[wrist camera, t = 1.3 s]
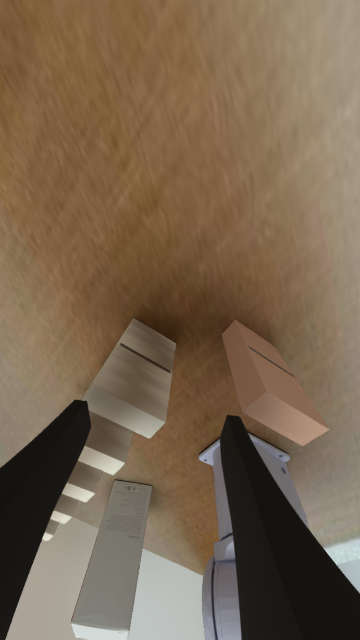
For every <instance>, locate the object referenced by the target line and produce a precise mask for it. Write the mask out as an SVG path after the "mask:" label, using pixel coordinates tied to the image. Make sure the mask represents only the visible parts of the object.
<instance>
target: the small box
mask: <svg viewBox="0 0 360 640" xmlns="http://www.w3.org/2000/svg"><path fill="white" fill-rule="evenodd" d="M151 492H152V486H149V485H143V484H137V483H131V482H124V481H116V480H115V481H114V482H113V486H112V489H111V492H110V495H109V499H108V502H107V505H106V509H105V512H104V516H103V519H102V522H101V525H100V529H99V532H98V535H97V539H96V542H95V545H94V548H93V551H92V555H91V558H90V561H89V564H88V568H87V571H86V574H85V578H84V581H83V584H82V587H81V591H80V594H79V597H78V601H77V604H76V607H75V610H74V613H73V616H72V619H71V625H72V628H73V631H74V634H75V637H76V638H82V639H89V640H127V639H128V636H129V630H130V624H131V618H132V612H133V605H134V599H135V592H136V587H137V580H138V574H139V568H140V561H141V555H142V548H143V542H144V536H145V529H146V523H147V517H148V511H149V505H150V498H151Z"/></svg>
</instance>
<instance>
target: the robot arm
mask: <svg viewBox="0 0 360 640" xmlns="http://www.w3.org/2000/svg"><path fill="white" fill-rule="evenodd" d="M91 427H92V426H91V420H90V415H89V409H88V403H87V401H83V400H74V401H73V402H72V403H71V404H70V405H69V406H68V407H67V408H66V409H65V410H64V411H63V412H62V413H61V414H60V415H59V416H58V417H57V418H56V419H55V420H54V421H53V422H51V423H50V424H49V425H48V426H47V427H46V428H45V429H44V430H43V431H42V432H41V433H40V434H39V435H38V436H37V437H35V438H34V439H33V440H32V441H31V442H30V443H29V444H28V445H27V446H25V447H24V448H23V449H22V450H21V451H20V452H19V453H17V454H16V455H15V456H14V457H13V458H12V459H10V460H9V461H8V462H7V463H6V464H5V465H3V466H2V467H1V468H0V640H5V639H6V636H7V633H8V630H9V627H10V624H11V622H12V618H13V616H14V613H15V610H16V607H17V605H18V602H19V599H20V596H21V594H22V591H23V588H24V585H25V583H26V580H27V577H28V574H29V572H30V569H31V566H32V564H33V561H34V559H35V556H36V554H37V551H38V548H39V545H40V543H41V541H42V538H43V536H44V533H45V531H46V528H47V526H48V523H49V521H50V518H51V516H52V513H53V511H54V509H55V507H56V504H57V502H58V500H59V498H60V496H61V494H62V492H63V490H64V488H65V486H66V484H67V482H68V480H69V478H70V476H71V473H72V471H73V469H74V467H75V465H76V463H77V461H78V459H79V457H80V455H81V453H82V451H83V449H84V446H85V443H86V441H87V438H88V435H89V432H90V429H91ZM199 460H201V461H203V462H205V463H207V464H209V465H211V466H213V472H214V484H215V496H216V508H217V520H218V532H219V542H214V555H215V556H211V557H210V558H209V560H208V563H207V566H206V569H205V572H204V576H203V585H202V612H203V624H204V633H205V640H360V593H359V592H358V591H357V590H356V588H355V587H354V586H353V585H352V584H351V582H350V581H349V580H348V579H347V578H346V576H345V575H344V574H343V573H342V571H341V570H340V569H339V568H338V566H337V565H336V564H335V562H334V561H333V560H332V559H331V557H330V556H329V555H328V554H327V552H326V551H325V550H324V549H323V547H322V546H321V545H320V543H319V542H318V541H317V540H316V538H315V537H314V536H313V534H312V533H311V532H310V530H309V527H308V521H307V518H306V514H305V512H304V509H303V507H302V504H301V501H300V499H299V496H298V494H297V491H296V488H295V486H294V483H293V481H292V478H291V475H290V473H289V470H288V468H287V465H286V463H285V462H287V461H289V460H290V457H289V455H288V454H286V453H284V452H282V451H281V450H279V449H277V448H275V447H273V446H271V445H270V444H268V443H266V442H264V441H262V440H260V439H258V438H257V437H255V436H253V435H251V434H249V433H248V432H247V430H246V428H245V426H244V424H243V422H242V420H241V418H240V417H239V416H231V415H227V417H226V420H225V424H224V427H223V430H222V433H221V437H220V439H219V440H218V441H216V442H215V443H214V444H212V445H211V446H210V447H209V448H207V449H206V450H205V451H204V452H202V453H201V454H200V455H199Z"/></svg>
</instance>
